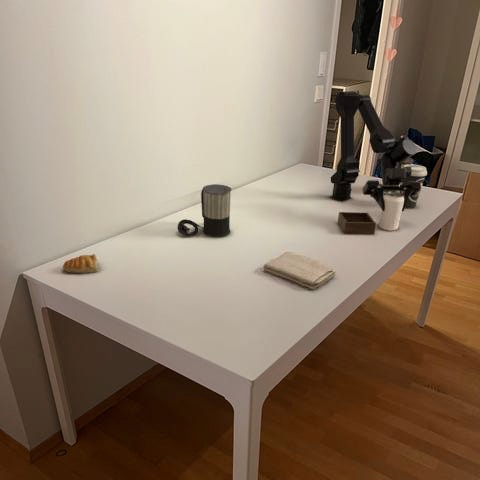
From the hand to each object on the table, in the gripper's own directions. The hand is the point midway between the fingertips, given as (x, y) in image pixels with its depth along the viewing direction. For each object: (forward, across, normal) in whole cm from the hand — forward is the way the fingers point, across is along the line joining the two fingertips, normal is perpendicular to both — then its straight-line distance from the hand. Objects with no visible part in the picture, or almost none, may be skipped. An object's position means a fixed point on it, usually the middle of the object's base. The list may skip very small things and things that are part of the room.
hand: (393, 210), depth 162 cm
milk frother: (+9, -64, +1) cm, 65 cm away
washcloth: (+30, -37, -20) cm, 52 cm away
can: (+4, 0, +6) cm, 7 cm away
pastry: (+29, -97, -19) cm, 103 cm away
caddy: (+5, -12, +5) cm, 14 cm away
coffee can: (-25, +15, +35) cm, 46 cm away
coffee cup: (-13, +15, +23) cm, 30 cm away
